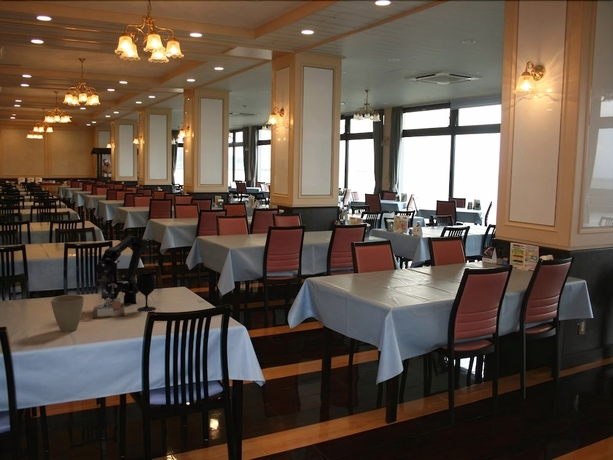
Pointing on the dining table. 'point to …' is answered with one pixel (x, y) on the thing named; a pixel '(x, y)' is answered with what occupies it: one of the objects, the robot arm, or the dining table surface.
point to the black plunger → (104, 297)
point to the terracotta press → (114, 303)
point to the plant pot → (67, 311)
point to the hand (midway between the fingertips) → (112, 298)
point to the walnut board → (116, 313)
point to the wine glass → (146, 288)
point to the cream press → (105, 310)
